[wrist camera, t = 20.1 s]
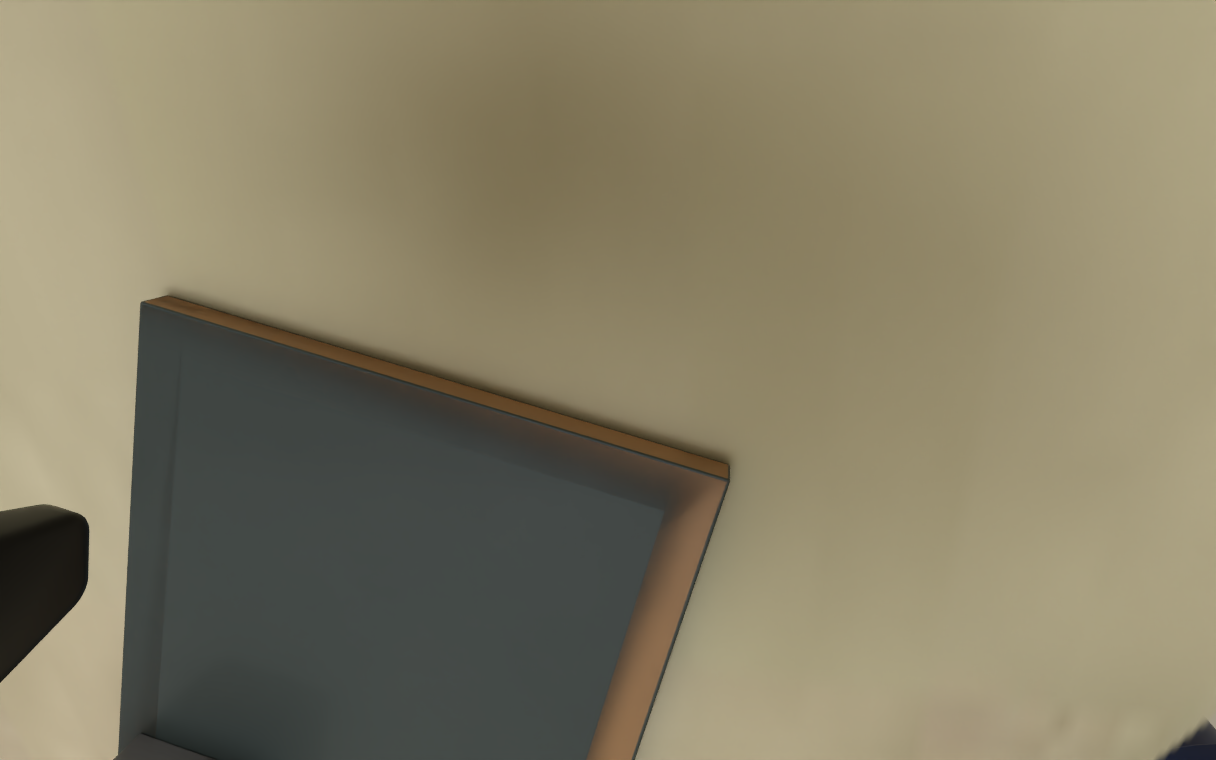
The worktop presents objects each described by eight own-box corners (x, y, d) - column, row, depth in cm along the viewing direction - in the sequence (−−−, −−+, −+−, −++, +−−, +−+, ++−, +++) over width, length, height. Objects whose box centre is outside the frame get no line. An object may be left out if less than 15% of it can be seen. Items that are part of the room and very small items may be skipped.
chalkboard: (730, 464, 19) (730, 480, 18) (531, 1048, 27) (524, 1080, 26) (167, 294, 20) (139, 301, 19) (130, 899, 28) (109, 925, 27)
